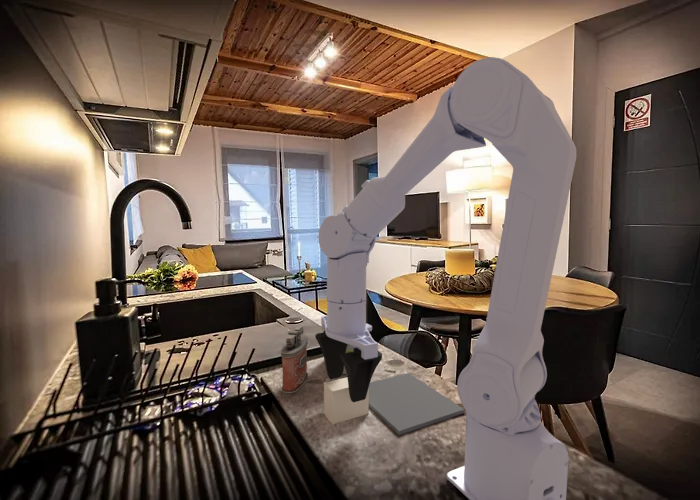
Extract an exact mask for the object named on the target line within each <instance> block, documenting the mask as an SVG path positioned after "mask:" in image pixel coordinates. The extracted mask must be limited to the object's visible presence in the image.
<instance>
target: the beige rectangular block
mask: <svg viewBox="0 0 700 500" xmlns="http://www.w3.org/2000/svg"><path fill="white" fill-rule="evenodd" d="M369 409H370V407H369V388H368V392H367V395H366V399H365V400H361V401H357V402H352V401H351V399H350V395H349V387H348V378H347V376H346V377H343V378H342V377H341V378H339V379H338V378H337V379H332V380H331V381H330V380H329V381H327V382H326V381H324V383H323V413H324V416H325V417H326V418H327V419H328V420H329V422H330V423H331V425H335V424H338V423H342V422H345V421H348V420H352V419H355V418H358V417H363V416H366V415H369Z"/></svg>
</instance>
